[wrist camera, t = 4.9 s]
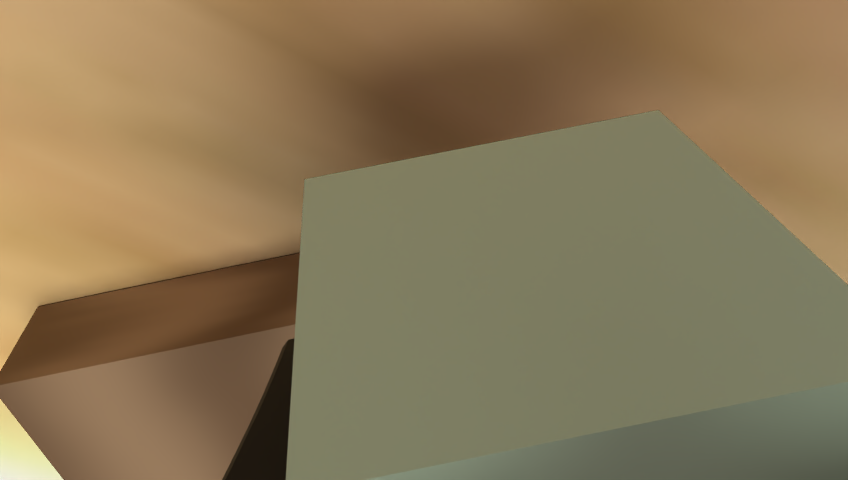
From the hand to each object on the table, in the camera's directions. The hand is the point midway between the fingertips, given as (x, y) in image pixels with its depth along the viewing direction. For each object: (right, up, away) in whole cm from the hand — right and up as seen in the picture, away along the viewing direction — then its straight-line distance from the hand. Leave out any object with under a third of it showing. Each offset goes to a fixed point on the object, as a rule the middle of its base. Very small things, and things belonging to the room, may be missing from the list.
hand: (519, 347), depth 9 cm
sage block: (0, +1, +1) cm, 1 cm away
